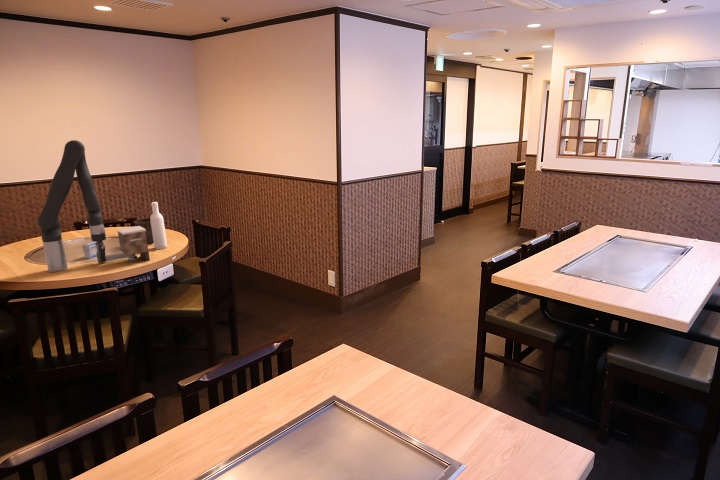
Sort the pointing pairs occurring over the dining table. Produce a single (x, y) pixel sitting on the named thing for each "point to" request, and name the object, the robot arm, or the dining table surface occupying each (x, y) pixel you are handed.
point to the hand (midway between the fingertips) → (102, 260)
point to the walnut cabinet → (134, 241)
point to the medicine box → (90, 250)
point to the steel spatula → (113, 256)
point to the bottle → (158, 228)
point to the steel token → (132, 258)
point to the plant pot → (146, 225)
